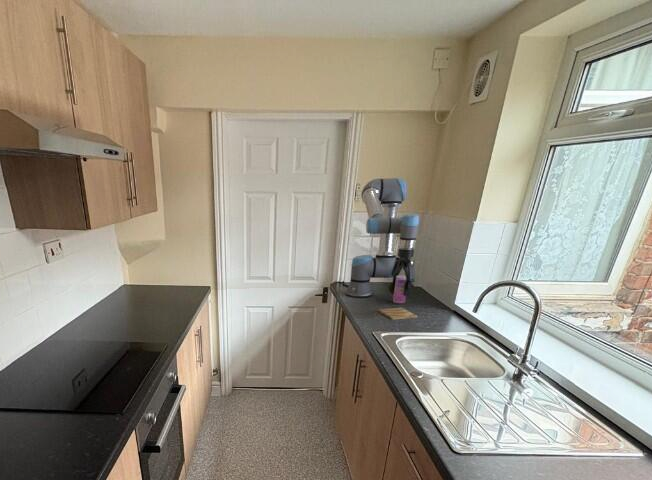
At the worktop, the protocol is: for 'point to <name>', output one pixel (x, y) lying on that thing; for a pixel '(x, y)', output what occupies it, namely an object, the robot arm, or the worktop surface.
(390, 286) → the ice cream bowl
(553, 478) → the worktop surface
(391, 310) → the oak board
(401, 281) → the box
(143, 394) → the worktop surface
